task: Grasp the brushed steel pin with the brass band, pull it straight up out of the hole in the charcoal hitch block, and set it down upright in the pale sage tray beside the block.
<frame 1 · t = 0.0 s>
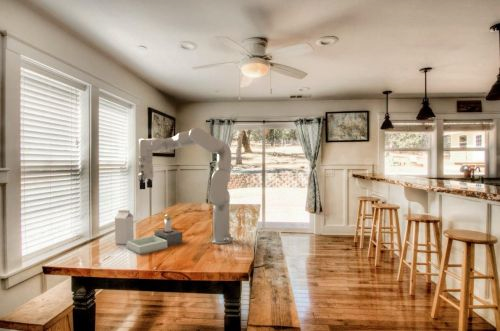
hand: (146, 188, 169), 31 cm above the table, tool pointing down, fingers open, 9 cm apart
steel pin: (168, 228, 166), in the hitch block
hitch block: (168, 241, 166), on the table
tray: (147, 248, 155), on the table
milk carton: (124, 242, 166), on the table
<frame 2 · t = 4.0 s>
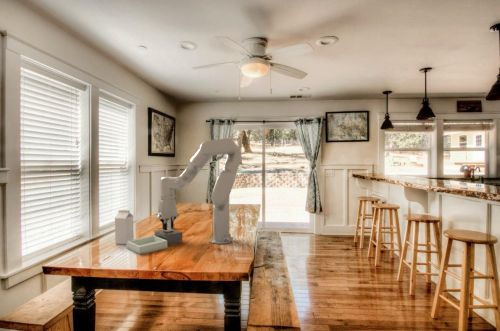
hand: (168, 228, 166), 8 cm above the table, tool pointing down, fingers closed on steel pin, 3 cm apart
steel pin: (168, 228, 166), in the hitch block, touching gripper
everything else where it was.
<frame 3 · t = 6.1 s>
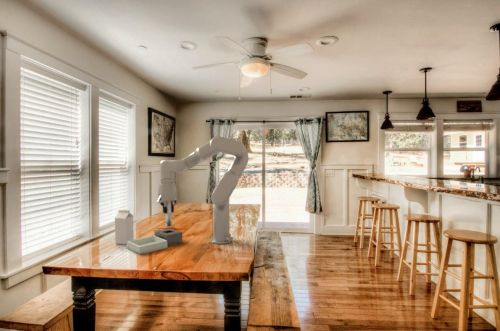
hand: (168, 212, 166), 17 cm above the table, tool pointing down, fingers closed on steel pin, 3 cm apart
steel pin: (168, 212, 166), point 18 cm above the table, touching gripper
everything else where it was.
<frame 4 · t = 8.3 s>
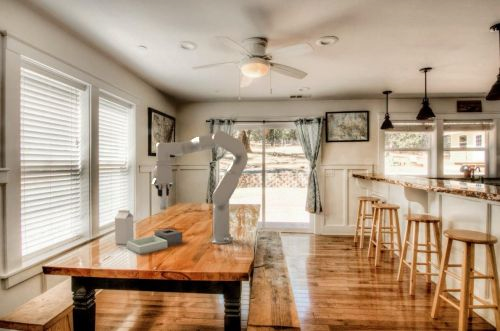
hand: (163, 195, 164), 27 cm above the table, tool pointing down, fingers closed on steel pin, 3 cm apart
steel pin: (163, 195, 164), point 28 cm above the table, touching gripper
everything else where it was.
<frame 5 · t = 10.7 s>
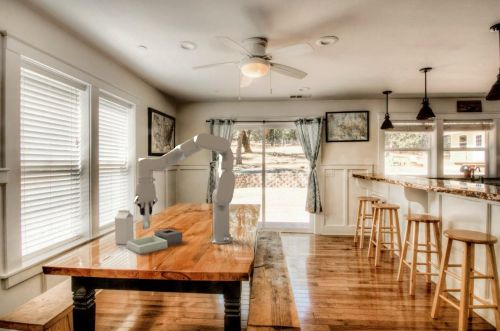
hand: (146, 214, 155), 19 cm above the table, tool pointing down, fingers closed on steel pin, 3 cm apart
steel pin: (146, 213, 155), point 19 cm above the table, touching gripper
everything else where it was.
when the fingers open (10 cm above the table, at t = 12.9 s): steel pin drops 1 cm, resting on tray.
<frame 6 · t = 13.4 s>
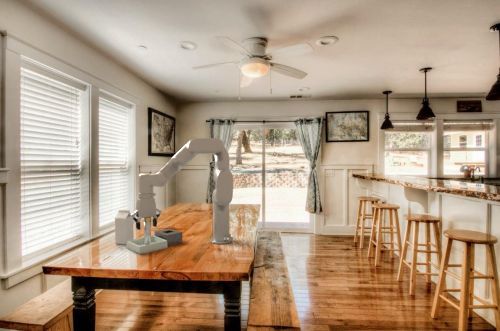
hand: (146, 227, 155), 11 cm above the table, tool pointing down, fingers open, 8 cm apart
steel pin: (147, 231, 155), in the tray, point 9 cm above the table
everything else where it was.
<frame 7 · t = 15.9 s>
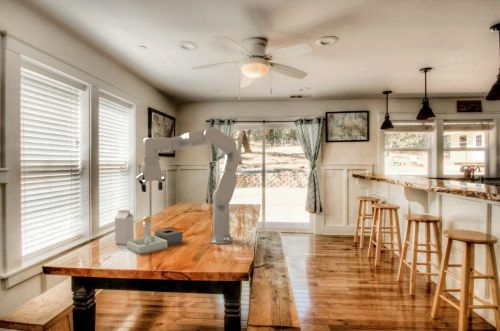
hand: (152, 191, 158), 31 cm above the table, tool pointing down, fingers open, 9 cm apart
nothing on the table moved.
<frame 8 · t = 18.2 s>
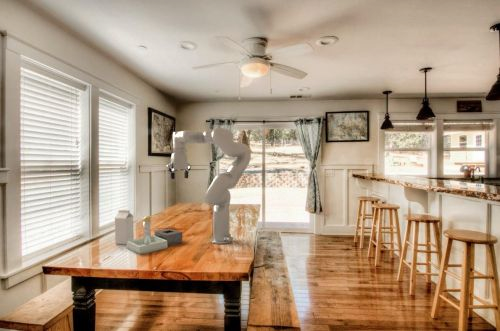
hand: (179, 178, 179), 36 cm above the table, tool pointing down, fingers open, 9 cm apart
nothing on the table moved.
at the end: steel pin inside the target area on the tray (0.1 cm from its centre), point 9.0 cm above the tray's base; the gripper is holding nothing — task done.
